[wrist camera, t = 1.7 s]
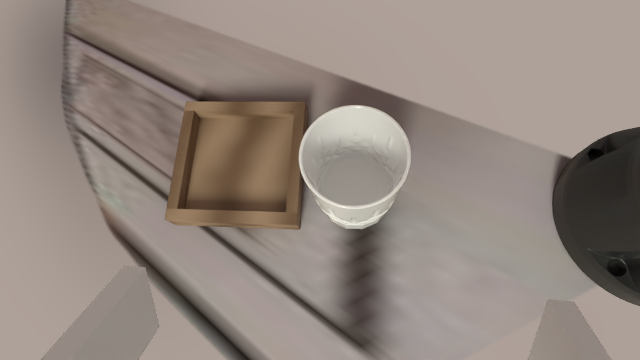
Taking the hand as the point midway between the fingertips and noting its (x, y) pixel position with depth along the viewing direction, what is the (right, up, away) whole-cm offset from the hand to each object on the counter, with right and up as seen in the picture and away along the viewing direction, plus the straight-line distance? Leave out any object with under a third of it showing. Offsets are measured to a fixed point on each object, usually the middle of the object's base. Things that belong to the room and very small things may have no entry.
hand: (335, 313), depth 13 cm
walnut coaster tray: (-8, +6, +26) cm, 28 cm away
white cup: (+3, +3, +24) cm, 24 cm away
